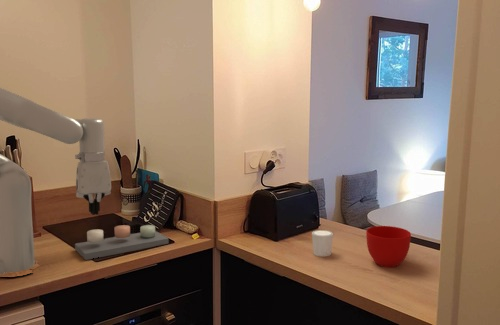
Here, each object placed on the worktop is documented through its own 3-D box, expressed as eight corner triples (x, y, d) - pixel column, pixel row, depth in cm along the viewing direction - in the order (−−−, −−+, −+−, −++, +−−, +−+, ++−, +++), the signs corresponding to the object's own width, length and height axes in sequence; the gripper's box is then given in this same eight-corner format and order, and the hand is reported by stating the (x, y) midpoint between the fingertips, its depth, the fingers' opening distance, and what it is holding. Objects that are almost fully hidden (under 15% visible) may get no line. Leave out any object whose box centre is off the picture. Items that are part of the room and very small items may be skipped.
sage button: (143, 238, 156) (143, 229, 155) (138, 234, 160) (138, 226, 159) (157, 235, 159) (157, 227, 158) (151, 232, 163) (151, 224, 162)
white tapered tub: (332, 257, 145) (333, 236, 144) (310, 256, 146) (311, 235, 145) (333, 250, 151) (333, 230, 150) (312, 249, 153) (312, 229, 152)
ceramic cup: (416, 256, 146) (417, 226, 144) (404, 274, 131) (405, 241, 130) (375, 249, 152) (376, 220, 151) (360, 266, 138) (360, 234, 136)
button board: (85, 260, 142) (85, 253, 141) (75, 249, 151) (74, 243, 151) (168, 244, 158) (168, 238, 157) (154, 235, 167) (154, 230, 167)
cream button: (89, 243, 145) (89, 234, 145) (85, 239, 149) (85, 230, 149) (105, 241, 148) (105, 232, 148) (100, 237, 152) (100, 228, 152)
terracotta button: (117, 239, 150) (117, 230, 150) (112, 235, 154) (112, 226, 154) (132, 236, 153) (132, 227, 153) (127, 232, 157) (126, 224, 157)
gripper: (71, 160, 138) (73, 219, 140) (119, 157, 146) (121, 213, 149) (64, 157, 144) (67, 214, 146) (111, 154, 152) (113, 208, 155)
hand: (94, 213), depth 147 cm, fingers closed
